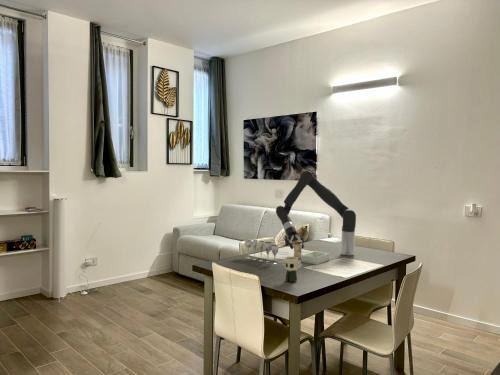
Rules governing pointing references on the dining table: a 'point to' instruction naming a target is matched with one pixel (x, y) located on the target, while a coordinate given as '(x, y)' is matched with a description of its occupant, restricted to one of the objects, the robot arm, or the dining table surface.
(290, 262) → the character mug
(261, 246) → the goblet set
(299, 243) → the pepper mill
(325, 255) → the bin
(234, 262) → the dining table surface
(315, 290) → the dining table surface
